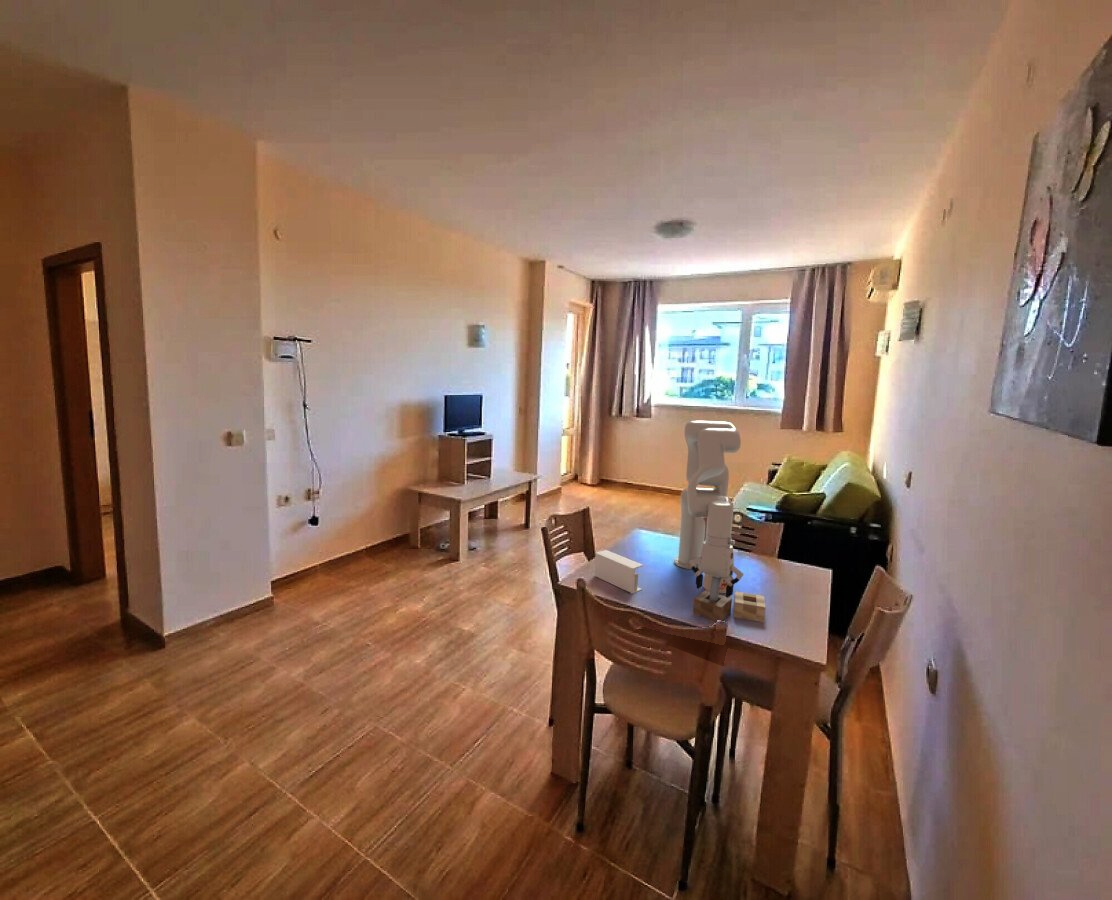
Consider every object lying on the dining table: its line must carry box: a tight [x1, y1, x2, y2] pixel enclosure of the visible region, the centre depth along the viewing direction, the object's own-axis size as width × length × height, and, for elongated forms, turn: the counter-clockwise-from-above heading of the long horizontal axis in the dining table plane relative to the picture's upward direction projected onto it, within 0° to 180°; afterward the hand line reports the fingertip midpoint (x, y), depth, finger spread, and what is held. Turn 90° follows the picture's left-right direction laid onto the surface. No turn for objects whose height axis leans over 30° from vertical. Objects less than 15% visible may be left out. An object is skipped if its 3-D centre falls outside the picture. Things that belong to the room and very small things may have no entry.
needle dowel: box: [709, 576, 721, 602], centre depth 164 cm, size 3×3×12 cm
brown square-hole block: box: [692, 589, 733, 622], centre depth 165 cm, size 9×9×5 cm
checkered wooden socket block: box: [733, 590, 766, 623], centre depth 166 cm, size 9×9×5 cm
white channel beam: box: [594, 549, 644, 595], centre depth 186 cm, size 20×6×9 cm, turn 39°
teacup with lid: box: [703, 573, 734, 595], centre depth 184 cm, size 12×9×12 cm
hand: (713, 591), depth 164 cm, fingers open, 9 cm apart
